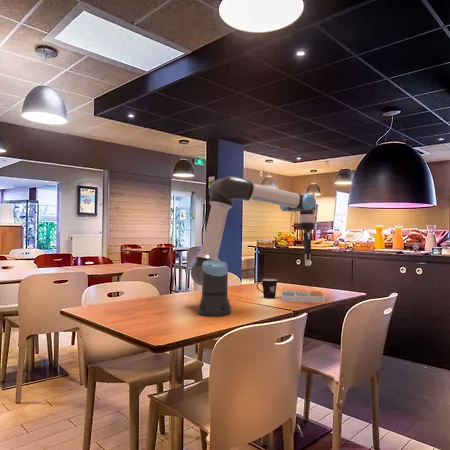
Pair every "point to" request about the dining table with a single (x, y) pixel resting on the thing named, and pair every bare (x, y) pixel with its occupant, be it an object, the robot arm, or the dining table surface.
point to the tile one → (288, 293)
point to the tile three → (316, 293)
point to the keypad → (302, 298)
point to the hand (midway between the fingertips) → (307, 265)
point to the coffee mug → (268, 288)
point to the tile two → (302, 293)
